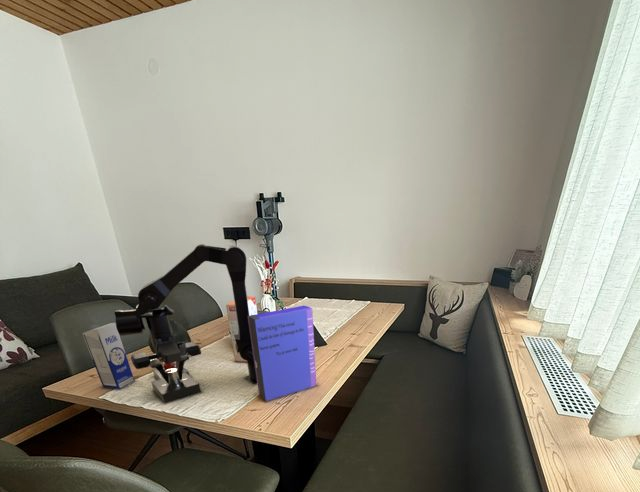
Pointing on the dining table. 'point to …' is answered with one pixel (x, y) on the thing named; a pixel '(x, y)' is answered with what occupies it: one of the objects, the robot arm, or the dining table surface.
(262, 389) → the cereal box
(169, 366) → the disc
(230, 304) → the cracker box
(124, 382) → the milk carton
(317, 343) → the dining table surface
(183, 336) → the squash
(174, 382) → the knob
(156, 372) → the block
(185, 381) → the panel
